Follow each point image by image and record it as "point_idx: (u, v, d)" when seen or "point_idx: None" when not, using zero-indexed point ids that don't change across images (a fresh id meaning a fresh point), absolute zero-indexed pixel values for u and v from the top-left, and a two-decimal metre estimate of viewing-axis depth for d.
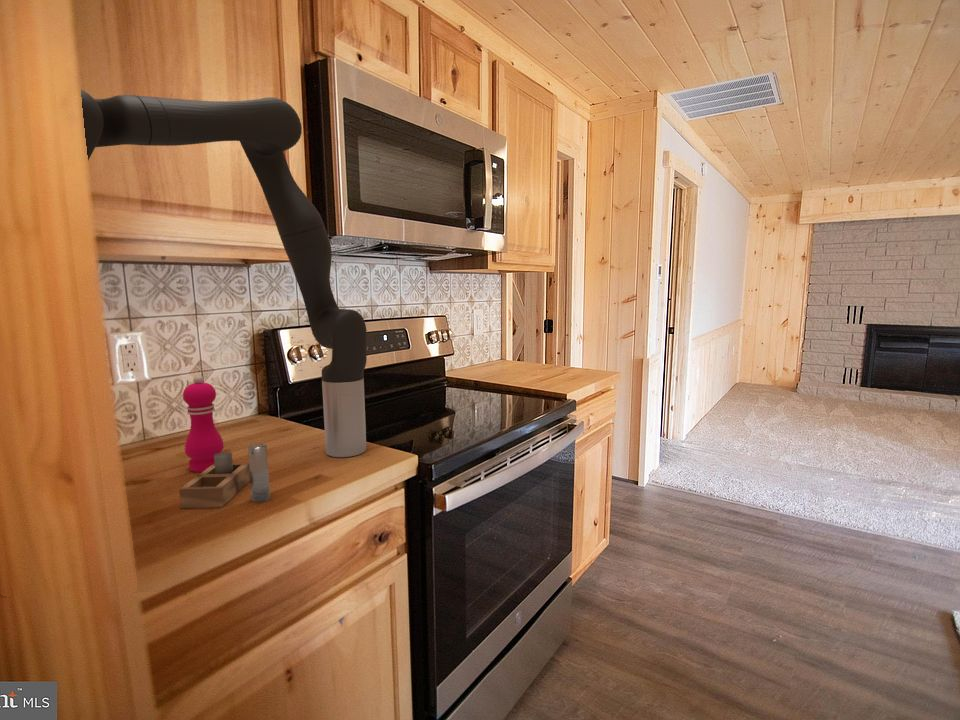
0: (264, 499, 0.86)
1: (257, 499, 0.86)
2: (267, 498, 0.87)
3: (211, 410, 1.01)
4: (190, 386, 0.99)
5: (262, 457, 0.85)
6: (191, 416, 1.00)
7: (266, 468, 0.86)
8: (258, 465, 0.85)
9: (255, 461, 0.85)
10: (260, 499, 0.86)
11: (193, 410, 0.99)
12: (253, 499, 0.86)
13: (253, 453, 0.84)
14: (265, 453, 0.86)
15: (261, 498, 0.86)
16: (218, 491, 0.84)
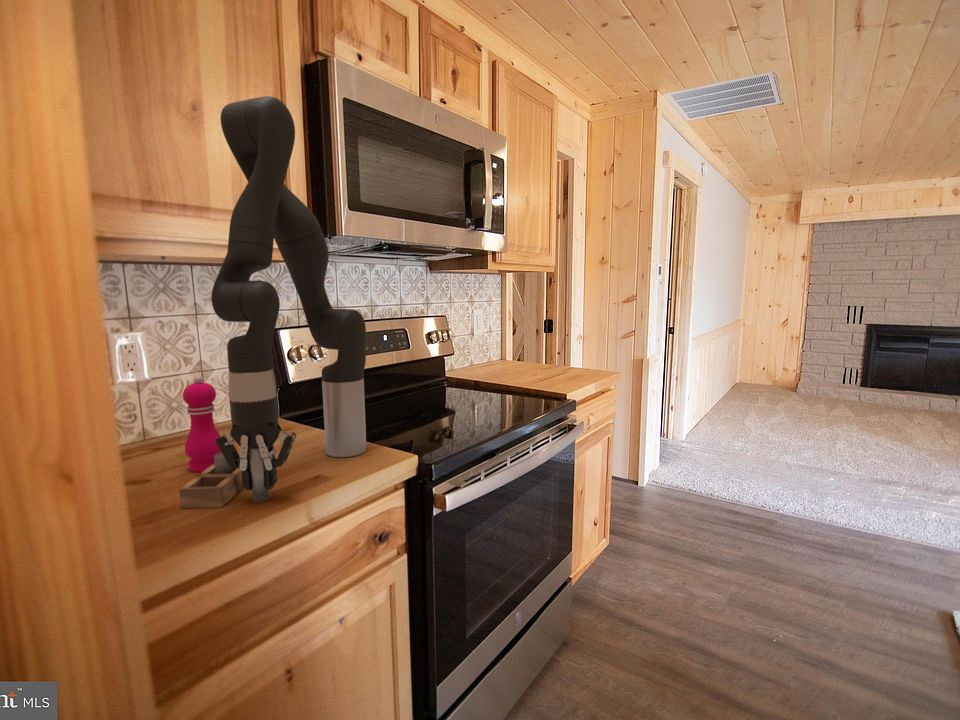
0: (264, 499, 0.86)
1: (257, 499, 0.86)
2: (267, 498, 0.87)
3: (211, 410, 1.01)
4: (190, 386, 0.99)
5: None
6: (191, 416, 1.00)
7: None
8: (258, 465, 0.85)
9: (255, 461, 0.85)
10: (260, 499, 0.86)
11: (193, 410, 0.99)
12: (253, 499, 0.86)
13: (253, 453, 0.84)
14: None
15: (261, 498, 0.86)
16: (218, 491, 0.84)
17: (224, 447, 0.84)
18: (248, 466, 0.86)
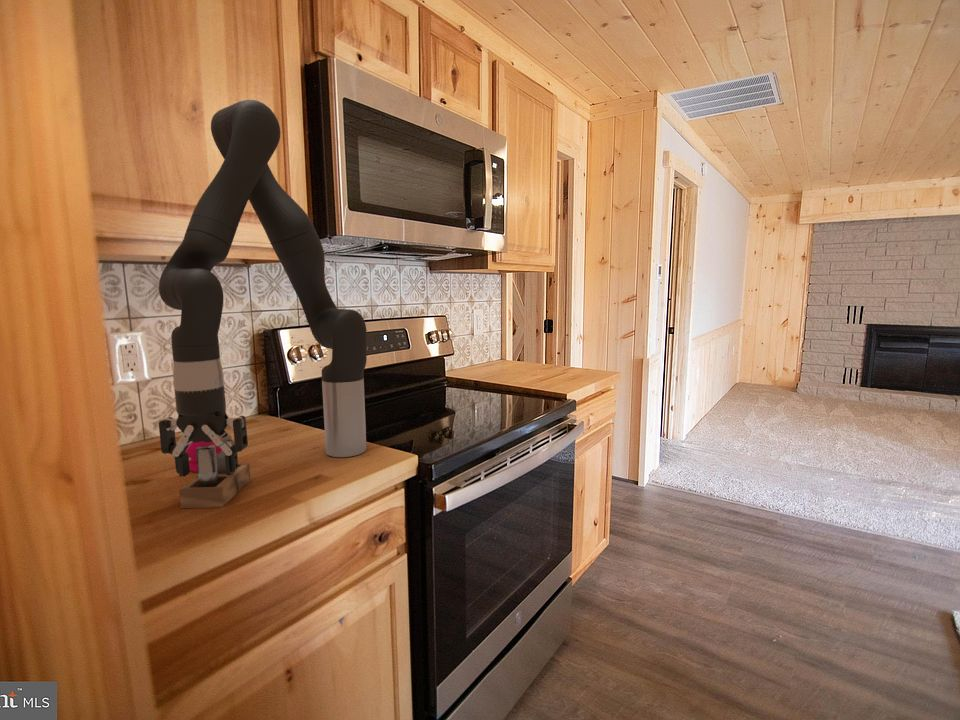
0: None
1: None
2: None
3: None
4: None
5: (210, 458, 0.85)
6: None
7: (215, 469, 0.86)
8: (206, 466, 0.84)
9: (203, 463, 0.84)
10: None
11: None
12: None
13: (200, 454, 0.84)
14: (213, 454, 0.85)
15: None
16: (218, 491, 0.84)
17: (164, 431, 0.83)
18: (181, 452, 0.85)
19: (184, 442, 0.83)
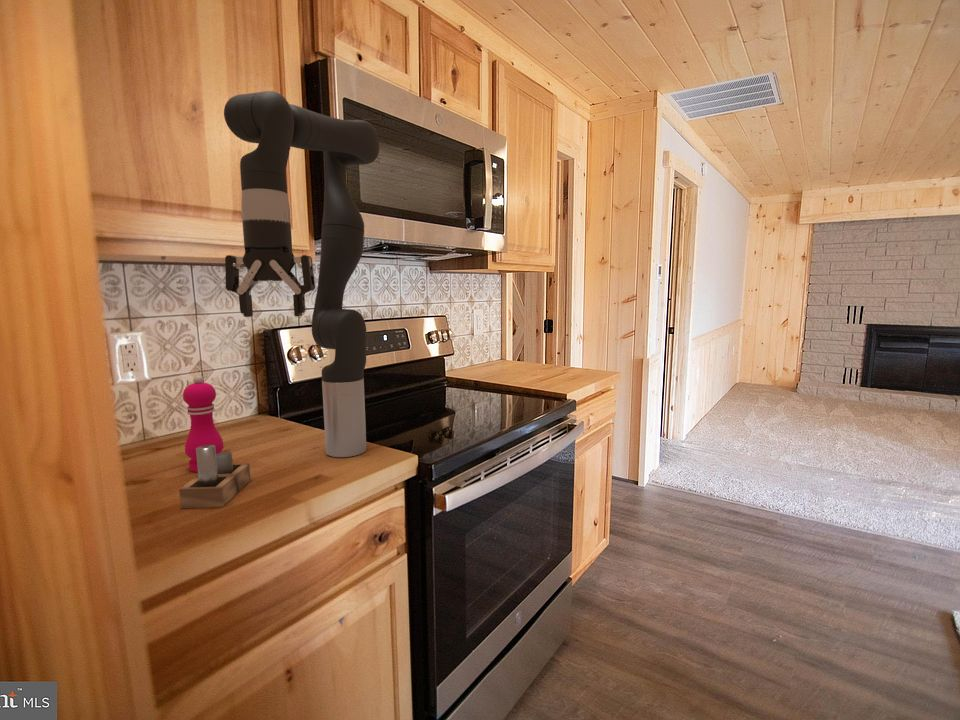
0: None
1: None
2: None
3: (211, 410, 1.01)
4: (190, 386, 0.99)
5: (210, 458, 0.85)
6: (191, 416, 1.00)
7: (215, 469, 0.86)
8: (206, 466, 0.84)
9: (203, 463, 0.84)
10: None
11: (193, 410, 0.99)
12: None
13: (200, 454, 0.84)
14: (213, 454, 0.85)
15: None
16: (218, 491, 0.84)
17: (230, 267, 0.81)
18: (246, 291, 0.82)
19: (250, 278, 0.81)
